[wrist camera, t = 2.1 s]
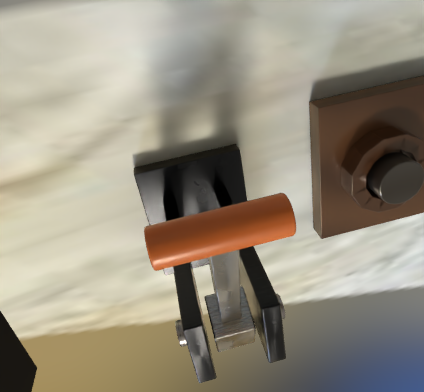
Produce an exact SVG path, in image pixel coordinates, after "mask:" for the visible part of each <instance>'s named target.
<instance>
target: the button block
mask: <svg viewBox="0 0 424 392" xmlns="http://www.w3.org/2000/svg"><path fill="white" fill-rule="evenodd" d="M309 109H310V137H311V166H312V194H313V222H314V229H315V231H316V232H317V233H318V235H319V236H320V237H321V239H323V238H327V237H331V236H335V235H338V234H342V233H346V232H350V231H354V230H358V229H362V228H365V227H369V226H373V225H377V224H381V223H385V222H389V221H393V220H396V219H400V218H404V217H408V216H412V215H416V214H420V213H423V212H424V182H423V185H422V187H421V188H420V190H419V191H418V192H417V194H416V195H414V196H413V197H412V198H411V199H409V200H407V201H406V202H403V203H400V204H389V203H386V202H385V201H383V200H382V199H381V198H380V197H379V196H378V195H376V194H375V193H374V192H373V191H372V190H371V189H370V187H369V185H368V174H369V171H370V169H371V167H372V166H373V165H374V163H375V162H376V161H377V160H378V159H380V158H381V157H383V156H384V155H386V154H389V153H393V152H399V153H403V154H405V155H407V156H408V157H410V158H411V159H413V160H414V161H416V162H418V163H419V164H420V165H421V166H422V167H423V169H424V76H420V77H415V78H411V79H406V80H402V81H398V82H393V83H389V84H385V85H380V86H376V87H372V88H367V89H363V90H358V91H354V92H350V93H345V94H341V95H337V96H332V97H328V98H324V99H319V100H315V101H310V102H309Z"/></svg>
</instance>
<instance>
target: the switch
mask: <svg viewBox="0 0 424 392" xmlns="http://www.w3.org/2000/svg"><path fill="white" fill-rule="evenodd" d="M295 232H296V221H295V216H294V212H293V208H292V206H291V203H290V201H289V199H288V198H287V196H286V195H285V194H284V193H279V194H275V195H271V196H267V197H263V198H258V199H254V200H250V201H246V202H242V203H238V204H234V205H230V206H226V207H222V208H218V209H214V210H210V211H206V212H202V213H198V214H194V215H190V216H186V217H182V218H177V219H173V220H169V221H165V222H161V223H157V224H153V225H149V226H146V227H145V229H144V235H145V242H146V247H147V251H148V255H149V258H150V262H151V264H152V267H153V269H154V270H156V271H157V270H161V269H165V268H169V267H173V266H177V265H181V264H185V263H189V262H193V261H196V260H200V259H204V258H208V260H209V265H210V270H211V275H212V281H213V286H214V291H215V294H211V295H207V296H205V301H206V305H207V310H208V314H209V318H210V322H211V326H212V330H213V334H214V338H215V342H216V346H217V350H218V352H221V351H224V350H227V349H231V348H235V347H239V346H242V345H246V344H249V343H253V342H254V341H255V324H254V321H253V317H252V314H251V311H250V308H249V304H248V301H247V298H246V295H245V291H244V288H243V287H240V260H239V249H243V248H247V247H251V246H255V245H259V244H263V243H267V242H270V241H274V240H278V239H282V238H286V237H290V236H293V235H294V234H295Z"/></svg>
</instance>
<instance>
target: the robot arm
mask: <svg viewBox="0 0 424 392" xmlns="http://www.w3.org/2000/svg"><path fill="white" fill-rule="evenodd" d="M36 370H37V367H36V365H35V364H34V362H33V361H32V359H31V358H30V356H29V355H28V353H27V351H26V350H25V348H24V347H23V345H22V344H21V342H20V341H19V339H18V337H17V336H16V334H15V333H14V331H13V330H12V328H11V327H10V325H9V324H8V322H7V320H6V319H5V317H4V316H3V314H2V313H1V311H0V392H31V391H32V387H33V383H34V378H35V375H36Z"/></svg>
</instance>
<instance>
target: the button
mask: <svg viewBox="0 0 424 392" xmlns="http://www.w3.org/2000/svg"><path fill="white" fill-rule="evenodd" d="M423 182H424V169H423V167H422V166H421V165H420V164H419V163H418V162H416V161H414V160H413V159H411V158H410V157H408V156H407V155H405V154H403V153H399V152H393V153H389V154H386V155H384V156H383V157H381V158H380V159H378V160H377V161H376V162H375V163H374V165H373V166H372V167H371V169H370V171H369V174H368V185H369V187H370V189H371V190H372V191H373V192H374V193H375V194H376V195H378V196H379V197H380V198H381V199H382V200H383V201H385V202H386V203H389V204H400V203H403V202H406V201H407V200H409V199H411V198H412V197H413V196H414V195H416V194H417V192H418V191H419V190H420V188H421V187H422V185H423Z"/></svg>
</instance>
